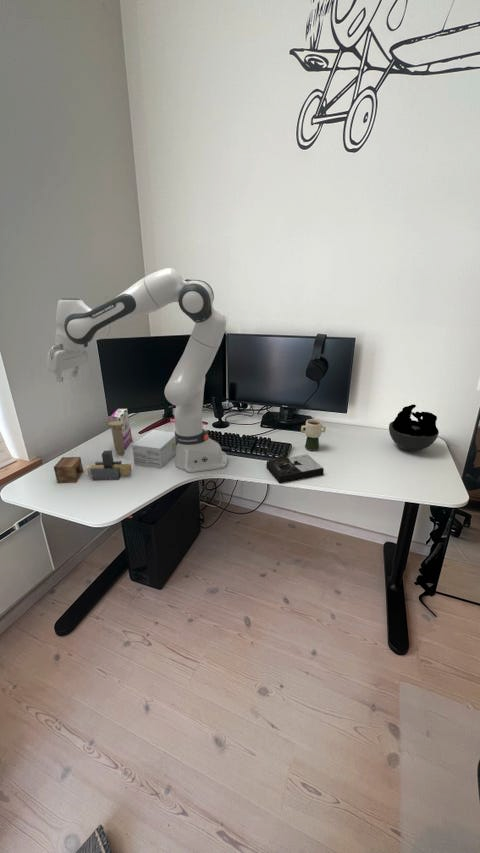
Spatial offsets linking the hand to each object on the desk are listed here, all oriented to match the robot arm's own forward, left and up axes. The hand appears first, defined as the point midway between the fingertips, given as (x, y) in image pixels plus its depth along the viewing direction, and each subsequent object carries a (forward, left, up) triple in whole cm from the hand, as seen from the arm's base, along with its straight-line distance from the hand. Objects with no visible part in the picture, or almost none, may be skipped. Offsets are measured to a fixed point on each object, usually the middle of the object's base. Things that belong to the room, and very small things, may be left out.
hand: (67, 378), depth 135 cm
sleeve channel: (-13, +12, -37) cm, 41 cm away
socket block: (+1, +12, -37) cm, 39 cm away
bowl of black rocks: (-143, -4, -37) cm, 148 cm away
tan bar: (-14, +12, -35) cm, 40 cm away
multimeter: (-87, +13, -37) cm, 96 cm away
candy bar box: (-12, -16, -37) cm, 42 cm away
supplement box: (-30, -3, -37) cm, 48 cm away
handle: (-13, -7, -37) cm, 40 cm away
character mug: (-99, -7, -37) cm, 106 cm away
